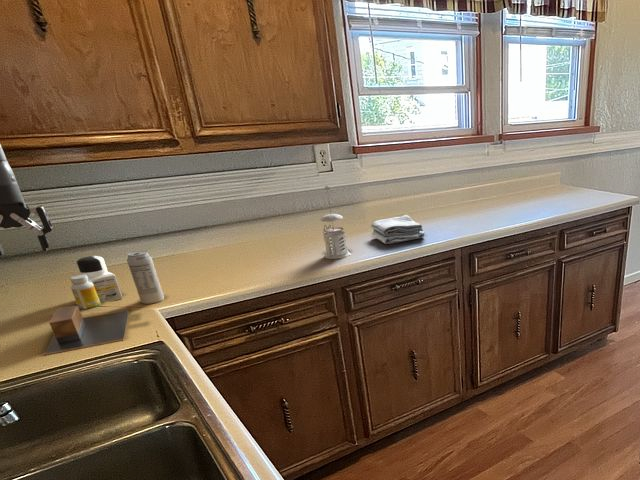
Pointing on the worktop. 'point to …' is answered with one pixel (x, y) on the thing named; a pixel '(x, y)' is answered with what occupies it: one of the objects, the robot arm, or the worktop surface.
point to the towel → (396, 229)
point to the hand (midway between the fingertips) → (24, 252)
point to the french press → (334, 236)
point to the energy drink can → (145, 277)
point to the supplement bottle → (84, 292)
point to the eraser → (67, 324)
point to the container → (100, 278)
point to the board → (95, 332)
